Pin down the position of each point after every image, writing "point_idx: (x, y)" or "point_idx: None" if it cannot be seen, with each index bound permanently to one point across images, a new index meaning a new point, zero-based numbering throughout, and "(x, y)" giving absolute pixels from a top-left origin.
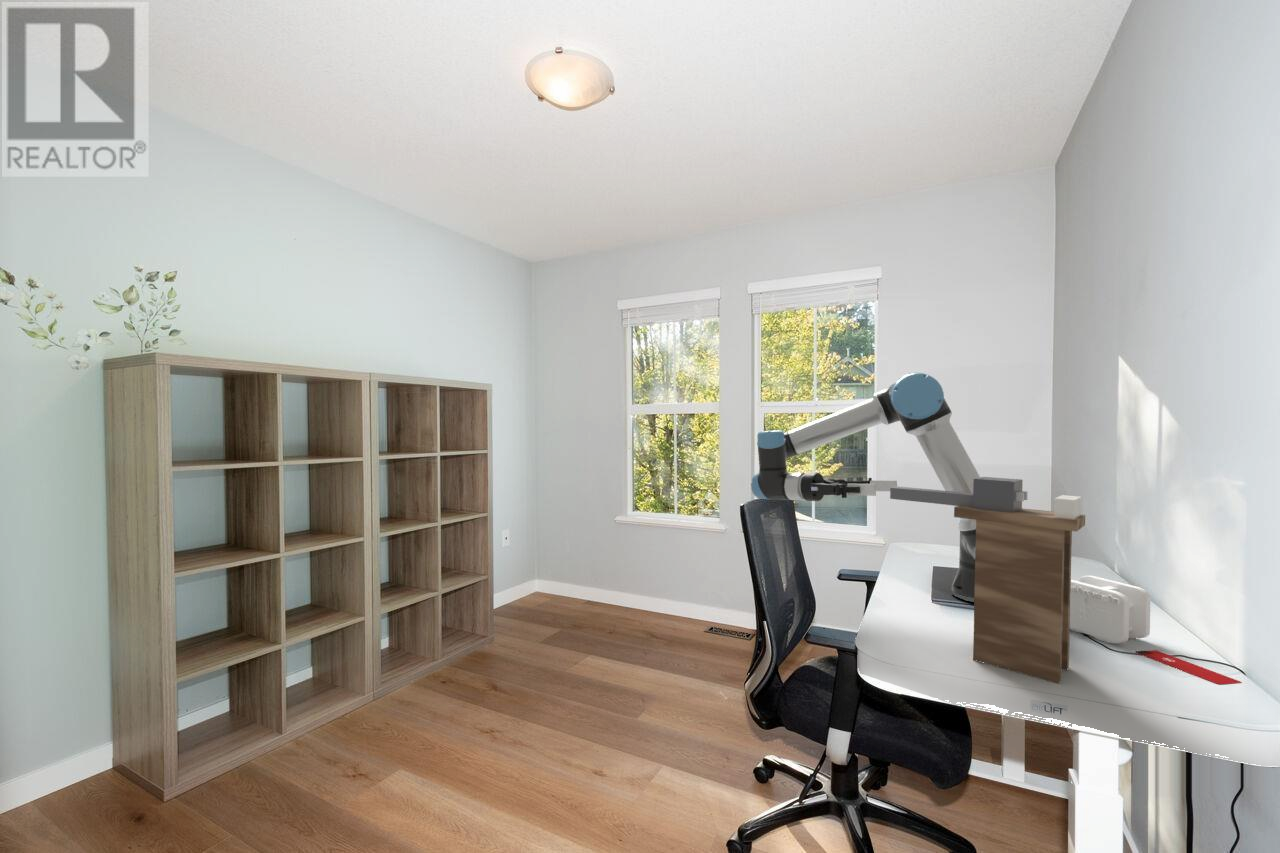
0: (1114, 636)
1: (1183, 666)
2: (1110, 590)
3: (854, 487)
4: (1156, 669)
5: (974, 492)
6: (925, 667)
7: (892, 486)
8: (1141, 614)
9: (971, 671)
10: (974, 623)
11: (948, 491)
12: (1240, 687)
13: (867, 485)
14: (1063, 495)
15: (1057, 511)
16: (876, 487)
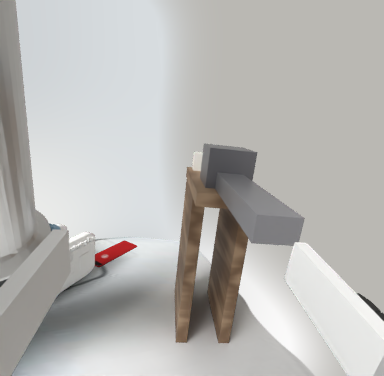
0: (91, 267)
1: (115, 252)
2: (81, 234)
3: (376, 309)
4: (132, 260)
5: (253, 170)
6: (296, 371)
7: (62, 263)
8: None
9: (257, 337)
10: (234, 310)
11: (233, 182)
12: (134, 241)
13: (320, 263)
14: (198, 153)
15: None
16: (16, 340)
